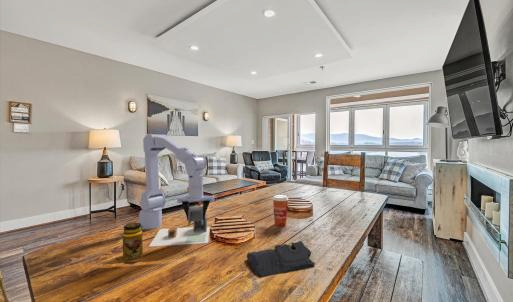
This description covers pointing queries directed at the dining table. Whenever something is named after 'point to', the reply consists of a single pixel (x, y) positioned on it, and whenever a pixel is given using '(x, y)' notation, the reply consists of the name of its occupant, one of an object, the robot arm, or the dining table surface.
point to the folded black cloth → (280, 259)
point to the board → (181, 237)
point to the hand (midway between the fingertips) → (196, 219)
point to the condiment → (132, 242)
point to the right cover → (198, 224)
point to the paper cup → (280, 210)
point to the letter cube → (172, 232)
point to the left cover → (195, 214)
